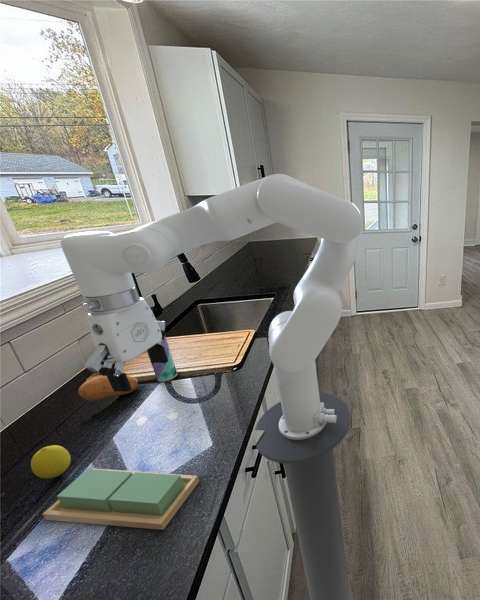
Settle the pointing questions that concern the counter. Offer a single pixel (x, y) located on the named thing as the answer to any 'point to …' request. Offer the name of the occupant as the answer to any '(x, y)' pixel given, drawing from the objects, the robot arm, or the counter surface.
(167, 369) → the spray can
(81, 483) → the pad
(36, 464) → the lemon
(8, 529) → the counter surface
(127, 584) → the counter surface
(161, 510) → the pad
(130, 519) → the tray
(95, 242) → the robot arm
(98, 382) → the potato
